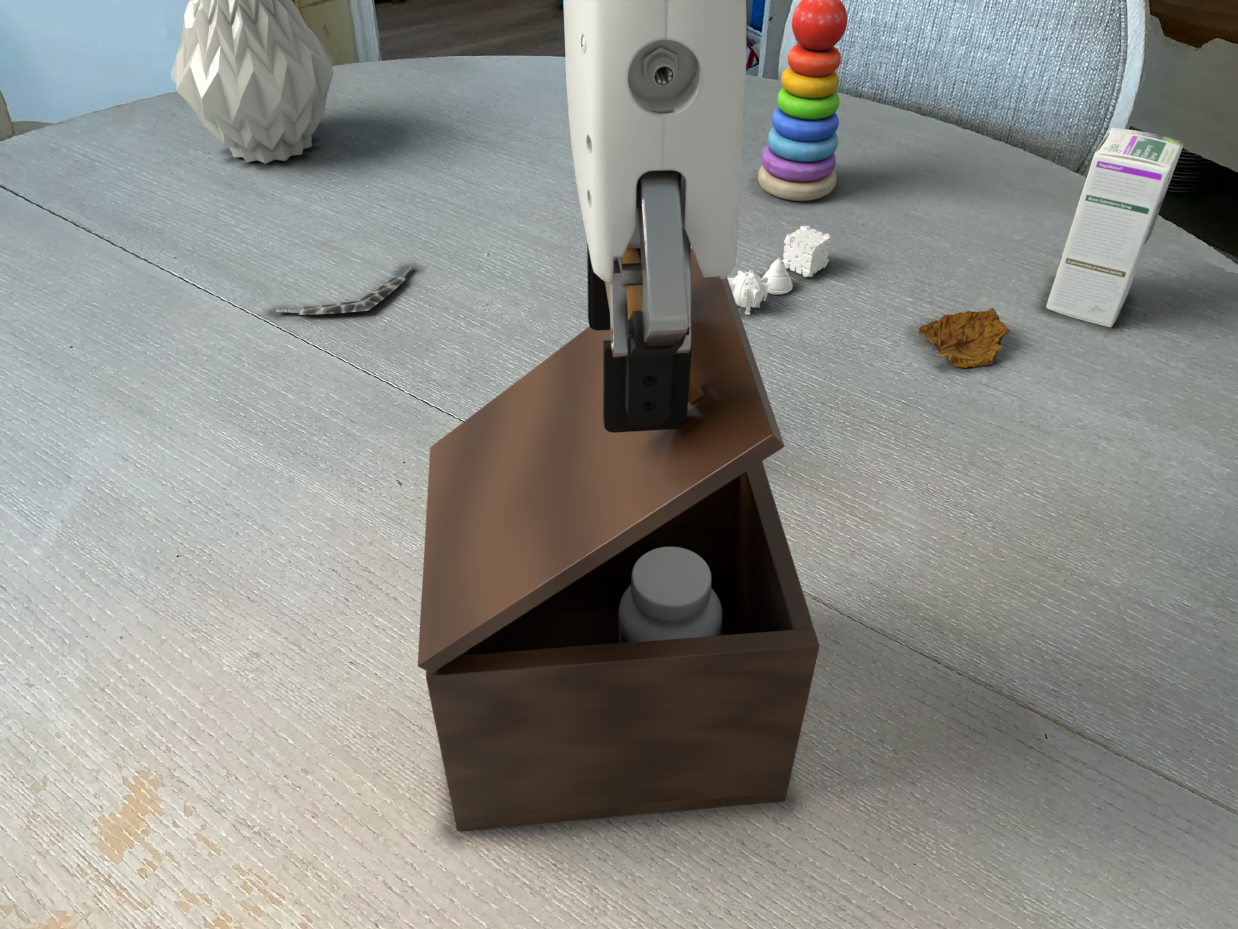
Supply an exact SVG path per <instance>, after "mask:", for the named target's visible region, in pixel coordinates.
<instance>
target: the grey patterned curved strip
mask: <svg viewBox="0 0 1238 929" xmlns="http://www.w3.org/2000/svg"><path fill="white" fill-rule="evenodd" d="M412 268H413V267H412V266H411V265H410V264H409V265H406V266H405V267H404V268H403V269H402V270H401V271H400V272H399V273H398V275H397V274H396V276H394V277H391V278H389V280H387V281H386V282H385V283H383V284H382V285H381V286H379V287H377V288H376V289H374V290H373V291H371V292H370V293H368V294H366V295H364V296H363V297H362V296H361V297H360V298H359V299H356V300H355V299H354V300H350V301H345V302H344V301H343V302H340V303H331V304H323V305H311V306H303V307H302V308H301V307H300V308H299V307H297V308H296V307H295V308H293V307H292V308H290V307H289V308H275V312H276V313H293V314H298V315H302V316H303V315H304V316H305V315H307V316H308V315H329V314H345V313H357V312H366V311H369V310H371V309H372V308H374V307H375V306H376V305H377V304H379V303H380V302H382V301H383V300H384V299H386V298H387V297H388V296H389V295H390V294H391V293H393V292H394V291H395V290H396V289H397V288H398V287H399V286H400V285H401V284H403V282H405V280H406V278H405V277H406V275H407V274H408V273H409V271H411V269H412Z"/></svg>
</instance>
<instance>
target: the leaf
mask: <svg viewBox="0 0 1238 929" xmlns="http://www.w3.org/2000/svg"><path fill="white" fill-rule="evenodd" d="M1010 331H1011V329H1010V328H1008V327H1007V326H1006V324H1004V322H1002V321H1001V320H1000V316H999V315H998V313H997V311H996V309H995V308H994V307H990V308H988V310H985V311H984V310H981V311H971V310H967V311H965V312H960V311H959V312H958V313H957V312H956V313H954V314H943V315H942V316H941V318H939V320H937V319H935V320H934V321H930V322H928V323H927V324H925V325H921V326H920V327H918V334H920V335H921V336H923V337H924V338H925V339H926V340H928V341H929V343H930V344H933V345H935V346H936V348H934V347H931V350H934V351H938V352H939V356H940V357H948V362H949V363H950V364H951V365H952V366H954V367H960V368H962V369H966V368H968V367H973V368H977V367H980V366H981V367H982V366H992V365H993V363H994V360H995V358H996V357H997V356H998V353H999V352H1000V351H1001V350H1002V348H1003V346H1002V345H1001V344H1002V341H1003V340H1004V338H1005V337H1006V336H1007V335H1009V333H1010Z"/></svg>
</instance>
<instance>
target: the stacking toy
mask: <svg viewBox="0 0 1238 929" xmlns="http://www.w3.org/2000/svg"><path fill="white" fill-rule="evenodd" d="M847 26H848V11H847V9H846V6H845V4H844V3H843V1H842V0H800V1H799V3H798V4H797V5H796V7H795V9H794V11H793V14H792V18H791V30H792V34H793V36H794V39H795V41H796V42H797V44H795V45H794V46H792V48H791V49H790V50H789V51H788V54H787V65H788V67H787V68H785V69H784V70H783V72H782V74H781V76H780V83H781V86H782V88H781V89H780V90H779V92H778V94H777V98H776V102H777V107H776V108H775V110H774V112H773V114H772V118H771V122H772V128H771V129H770V130H769V132H768V135H767V145H766V146H765V147H764V149H763V150H762V153H761V157H760V158H761V166H760V167H759V170H758V173H757V181H758V183H759V185H760V187H761V188H762V189H763V190H764V191H765V192H767V193H768V194H770V195H772V196H774V197H777V198H780V199H784V200H787V201H795V202H796V201H797V202H798V201H799V202H806V201H814V200H818V199H821V198H824V197H825V196H827V195H829V194H830V193H831V192H832V191H833V190H834V189H835V187H836V184H837V179H838V178H837V173H836V171H835V168H836V164H837V157H836V154H835V152H836V151H837V148H838V145H839V136H838V134H837V130H838V129H839V125H840V119H839V115H838V114H837V111H838V108H839V106H840V95H839V93H838V92H837V90H838V88H839V86H840V78H839V75H838V74H837V72H836V71H837V70H838V68H839V67H840V65H841V62H842V55H841V52H840V51H839V49H838V48H837V47H835V46H836V45H837V44H838V43H839V42H840V41H841V39H842V38H843V37H844V36H845V32H846V30H847Z"/></svg>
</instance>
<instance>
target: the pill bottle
mask: <svg viewBox="0 0 1238 929" xmlns="http://www.w3.org/2000/svg"><path fill="white" fill-rule="evenodd" d="M722 616H723V615H722V607H721V603H720V601H719V598H718V597H717V595H716V593H715V592H714V591H713V589H712V588H711V572H710V569H709V567H708V565H707V563H706V562H705V561H704V560H703V559H702V558H701V557H700V556H699V555H697V554H696V553H694V552H692V551H690V550H687V549H684V548H679V547H661V548H657V549H654V550H651V551H649V552H647V553H646V554H644V555H643V556H641V557H640V558H639V559H638V561H637V562H636V564H635V565H634V568H633V570H632V577H631V585H630V586H629V587H628V588H627V590H626V591H625V592H624V594H623V596H622V598H621V601H620V604H619V610H618V627H619V643H630V642H643V641H656V640H669V639H682V638H695V637H708V636H721V629H722Z"/></svg>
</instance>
